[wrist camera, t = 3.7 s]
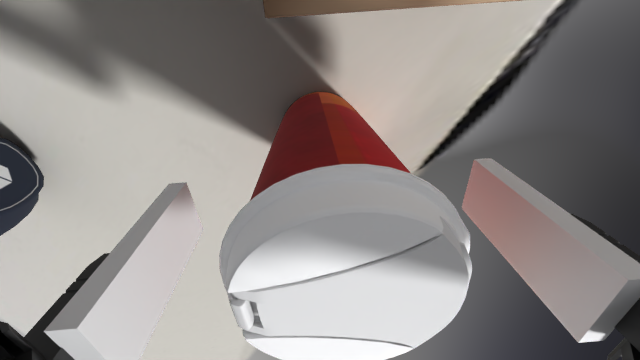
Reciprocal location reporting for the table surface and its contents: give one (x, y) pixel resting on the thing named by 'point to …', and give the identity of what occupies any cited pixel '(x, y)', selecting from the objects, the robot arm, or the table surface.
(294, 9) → the stool
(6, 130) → the table surface
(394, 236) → the paper cup
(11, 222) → the headphones
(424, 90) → the table surface
